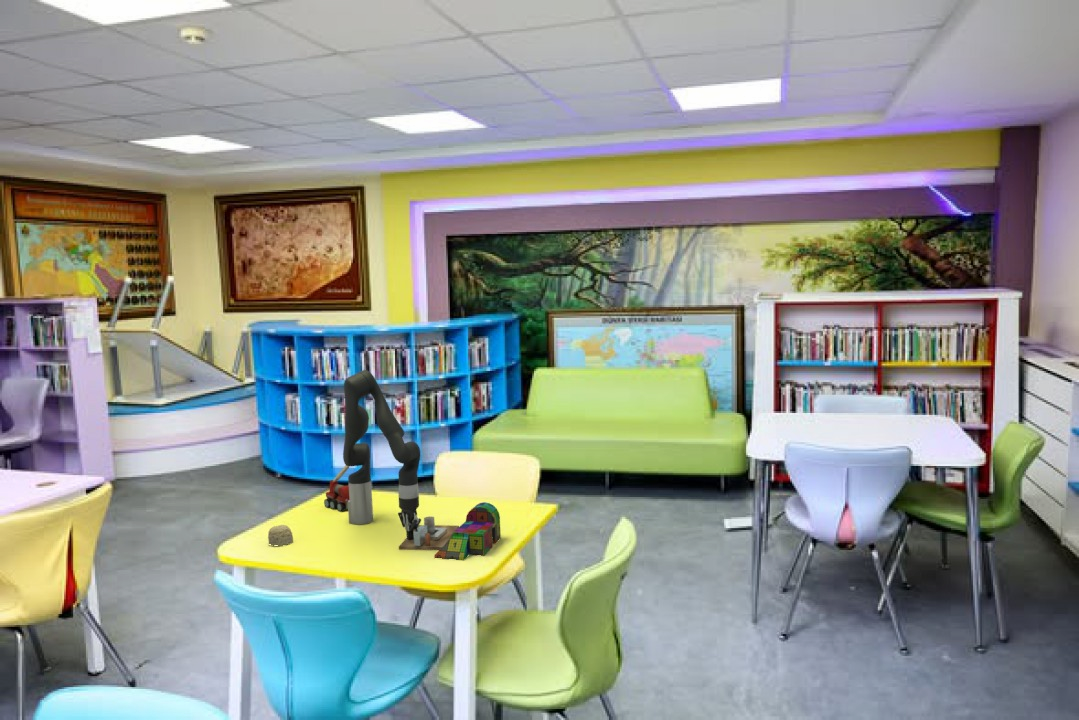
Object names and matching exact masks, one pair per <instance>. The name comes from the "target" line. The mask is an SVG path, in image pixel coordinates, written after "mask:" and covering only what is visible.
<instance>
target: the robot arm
mask: <svg viewBox="0 0 1079 720" xmlns="http://www.w3.org/2000/svg"><path fill="white" fill-rule="evenodd" d="M343 393H344V403H345V415H344V444H343V450H342V451H343V452H342V459H343V463H344V465H345V466H346V465H347V466H349V467H358V466H361V467H360V468H359V469H357V470H356V471H354V472H352V473H350V474H349V475H348V477H347V479H348V480H347V481H348V485H349V499H350V500H349V501H348V509H347V510H348V511H347V512H348V523H349V524H352V525H367V524H370V523H372V522H374V513H373V512H374V510H373V508H374V507H373V492H372V491H373V490H372V489H373V488H372V476H371V475H372V474H371V448H370V445H369V444H368V442H359V443H358V441H360V440H361V439H362V438H363V437H364V436H365V435H366V433H367V432H368V430H369V422H370V417H369V416H370V415H369V413H368V411H367V409H365V408H364V407H363V406H362V405H360V404H359V403H360V400H361V399H362V398H364V397H366V396H368V395H371V396H372V398H373V400H374V403H375V407H376V408H375V410H376V411H375V412H376V413H375V414H376V415H375V416H376V423H377V426H378V428H379V430H380V432H382V433H381V434H382V435H383V436H384V437H385V438H386V441H387V442H388V444H389V445H388V446H389V448H390V451H391V453H392V456H393V458H394V459H395V460H396V461H397V462H398V463H400V464H403V465H402V466H401V468H400V469H399V470H398V492H397V493H398V508H399V509H400V510H401V511H400V512H398V513H397V515H398V517H399V521H400V523H401V525H402V528H404V530H405V531H406V532H405V533H406V538H407V539H408V540H413V539H414V533H413V531H414V530H415V529H417V528H418V526H419V525H421V521H422V519H421V518H420V517H419V518H418V511H417V509H418V508H419V506H420V494H419V493H420V492H419V483H418V478H419V477H418V469H419V466H420V461H421V449H420V446H419V444H418V443H417V442H415V441H413V440H410V441H407V442H404V441H405V440H404V439H403V437H404V436H405V430H404V429H403V427H402V426H401V424H400V423H399V421H398V420H397V418H396V417H395V415H394V414H393V412H392V410H391V409H390V407H389V404H388V402H387V400H386V398H385V395H384V393H383V392H382V389H381V388H380V386H379V384H378V381H377V380H376V378H375V377H374V375H373V373H372V372H370V371H369V370H367V369H363V370H361V371H359V372H357V373H354V374H352V375H350V376H348V377H347V378H345V380H344V382H343Z"/></svg>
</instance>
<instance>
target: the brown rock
mask: <svg viewBox="0 0 1079 720" xmlns="http://www.w3.org/2000/svg"><path fill="white" fill-rule="evenodd" d="M267 539H268V545H269V544H271V545H278V546H277V547H281V546H280V545H286V546H288V545H287V544H289V545H291V544H293V543H294V536H293V532H292V530H291V528H290V527H289V526H288V525H285V524H280V525H274V526H272V527H270V528H269V531H268V537H267ZM290 543H291V544H290Z"/></svg>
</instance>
